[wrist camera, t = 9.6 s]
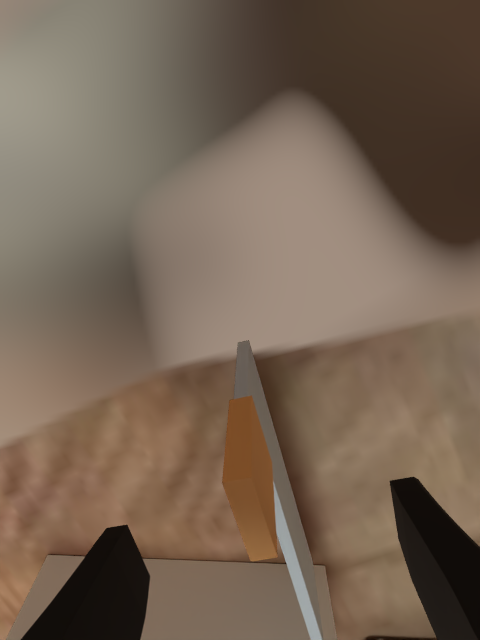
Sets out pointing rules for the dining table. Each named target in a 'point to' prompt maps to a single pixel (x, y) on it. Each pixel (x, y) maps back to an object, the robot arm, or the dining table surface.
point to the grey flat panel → (265, 488)
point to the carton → (201, 600)
